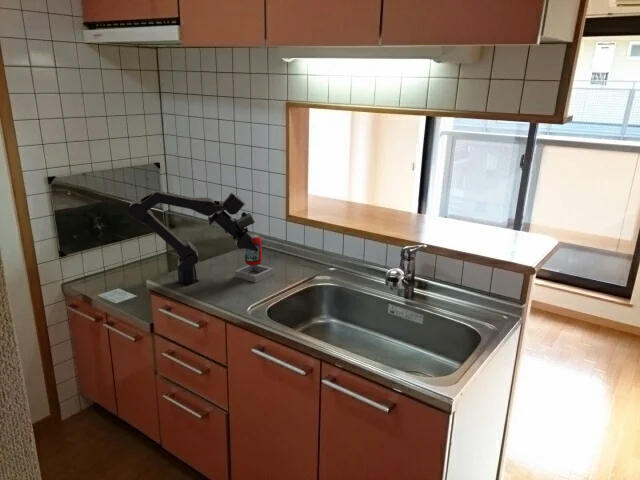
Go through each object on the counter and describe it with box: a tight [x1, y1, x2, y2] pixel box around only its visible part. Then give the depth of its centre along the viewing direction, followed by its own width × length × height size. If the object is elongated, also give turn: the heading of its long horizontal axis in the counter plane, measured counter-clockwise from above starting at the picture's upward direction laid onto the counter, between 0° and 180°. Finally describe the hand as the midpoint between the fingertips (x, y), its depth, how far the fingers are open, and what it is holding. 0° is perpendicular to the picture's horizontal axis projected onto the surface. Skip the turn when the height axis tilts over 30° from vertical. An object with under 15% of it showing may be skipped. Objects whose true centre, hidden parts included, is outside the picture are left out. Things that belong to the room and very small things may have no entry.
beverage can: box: [244, 233, 263, 266], centre depth 199 cm, size 7×7×12 cm
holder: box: [234, 264, 274, 284], centre depth 202 cm, size 11×11×2 cm
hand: (256, 247), depth 199 cm, fingers closed on beverage can, 7 cm apart
